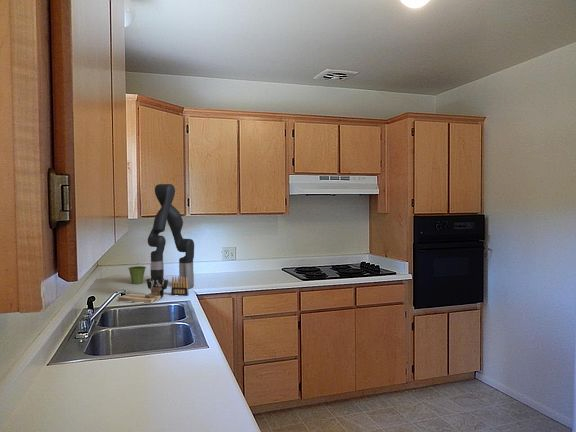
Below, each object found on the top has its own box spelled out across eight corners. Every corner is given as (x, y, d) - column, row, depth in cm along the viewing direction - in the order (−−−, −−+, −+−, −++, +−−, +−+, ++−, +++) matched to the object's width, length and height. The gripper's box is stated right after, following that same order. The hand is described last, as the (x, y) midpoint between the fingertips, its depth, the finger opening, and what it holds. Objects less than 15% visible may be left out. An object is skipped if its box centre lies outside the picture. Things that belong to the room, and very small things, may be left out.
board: (129, 297, 243) (129, 293, 243) (160, 299, 237) (160, 295, 237) (118, 301, 233) (118, 297, 233) (150, 304, 227) (150, 299, 227)
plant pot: (131, 285, 275) (131, 269, 274) (126, 282, 284) (125, 267, 284) (148, 283, 282) (148, 267, 282) (142, 280, 292) (142, 265, 291)
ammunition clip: (188, 295, 248) (188, 276, 248) (187, 295, 246) (187, 276, 246) (172, 294, 250) (172, 275, 249) (171, 295, 248) (170, 276, 247)
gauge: (155, 297, 243) (155, 284, 243) (163, 297, 242) (162, 285, 241) (143, 302, 232) (143, 289, 231) (151, 302, 230) (150, 289, 230)
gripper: (170, 267, 241) (171, 295, 242) (150, 266, 245) (150, 293, 246) (163, 269, 234) (164, 298, 235) (142, 268, 238) (143, 296, 239)
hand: (157, 295), depth 240 cm, fingers closed on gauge, 5 cm apart
